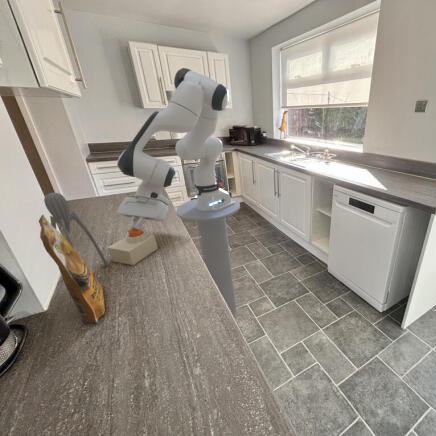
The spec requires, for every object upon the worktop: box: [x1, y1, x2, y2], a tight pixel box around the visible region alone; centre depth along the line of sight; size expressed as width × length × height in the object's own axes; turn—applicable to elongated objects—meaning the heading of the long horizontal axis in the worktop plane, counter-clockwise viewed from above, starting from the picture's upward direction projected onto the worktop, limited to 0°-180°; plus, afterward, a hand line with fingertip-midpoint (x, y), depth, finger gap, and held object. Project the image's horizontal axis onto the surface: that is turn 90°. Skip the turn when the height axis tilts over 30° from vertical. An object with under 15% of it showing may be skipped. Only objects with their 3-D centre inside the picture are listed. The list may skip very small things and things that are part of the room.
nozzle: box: [127, 227, 143, 237], centre depth 93 cm, size 4×4×2 cm
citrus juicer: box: [43, 192, 108, 268], centre depth 75 cm, size 11×10×30 cm
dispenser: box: [106, 229, 158, 266], centre depth 93 cm, size 12×10×8 cm
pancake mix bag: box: [38, 214, 106, 324], centre depth 64 cm, size 7×19×28 cm, turn 38°
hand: (134, 228), depth 92 cm, fingers closed
